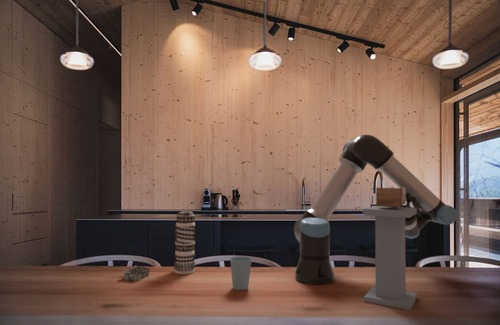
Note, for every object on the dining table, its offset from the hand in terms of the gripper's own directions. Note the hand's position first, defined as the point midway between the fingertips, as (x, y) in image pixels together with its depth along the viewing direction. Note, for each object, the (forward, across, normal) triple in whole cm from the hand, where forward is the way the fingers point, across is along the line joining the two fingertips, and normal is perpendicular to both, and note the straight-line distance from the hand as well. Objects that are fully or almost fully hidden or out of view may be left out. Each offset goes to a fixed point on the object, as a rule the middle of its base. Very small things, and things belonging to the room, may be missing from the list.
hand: (397, 190), depth 132 cm
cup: (+10, -48, +47) cm, 68 cm away
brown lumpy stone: (+20, -89, +53) cm, 106 cm away
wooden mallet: (+2, 0, +7) cm, 7 cm away
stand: (-5, 0, +38) cm, 39 cm away
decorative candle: (+5, -80, +44) cm, 92 cm away
